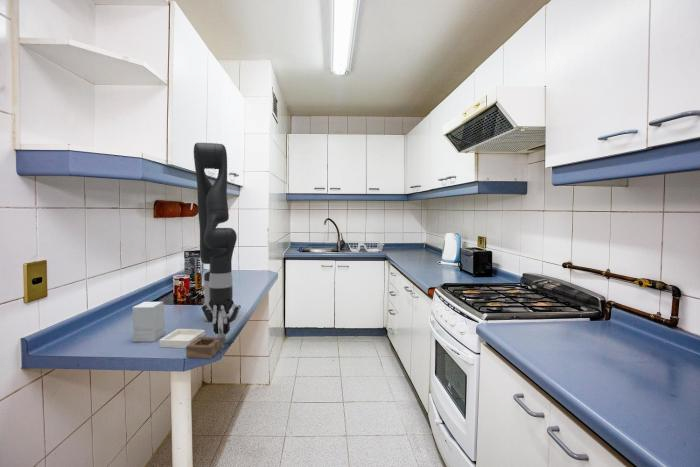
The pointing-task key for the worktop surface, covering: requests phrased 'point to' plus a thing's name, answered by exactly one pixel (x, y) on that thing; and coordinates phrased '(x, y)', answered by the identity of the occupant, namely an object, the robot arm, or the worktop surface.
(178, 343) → the tray
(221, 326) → the cylinder
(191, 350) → the bore block
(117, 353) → the worktop surface
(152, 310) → the supplement box
